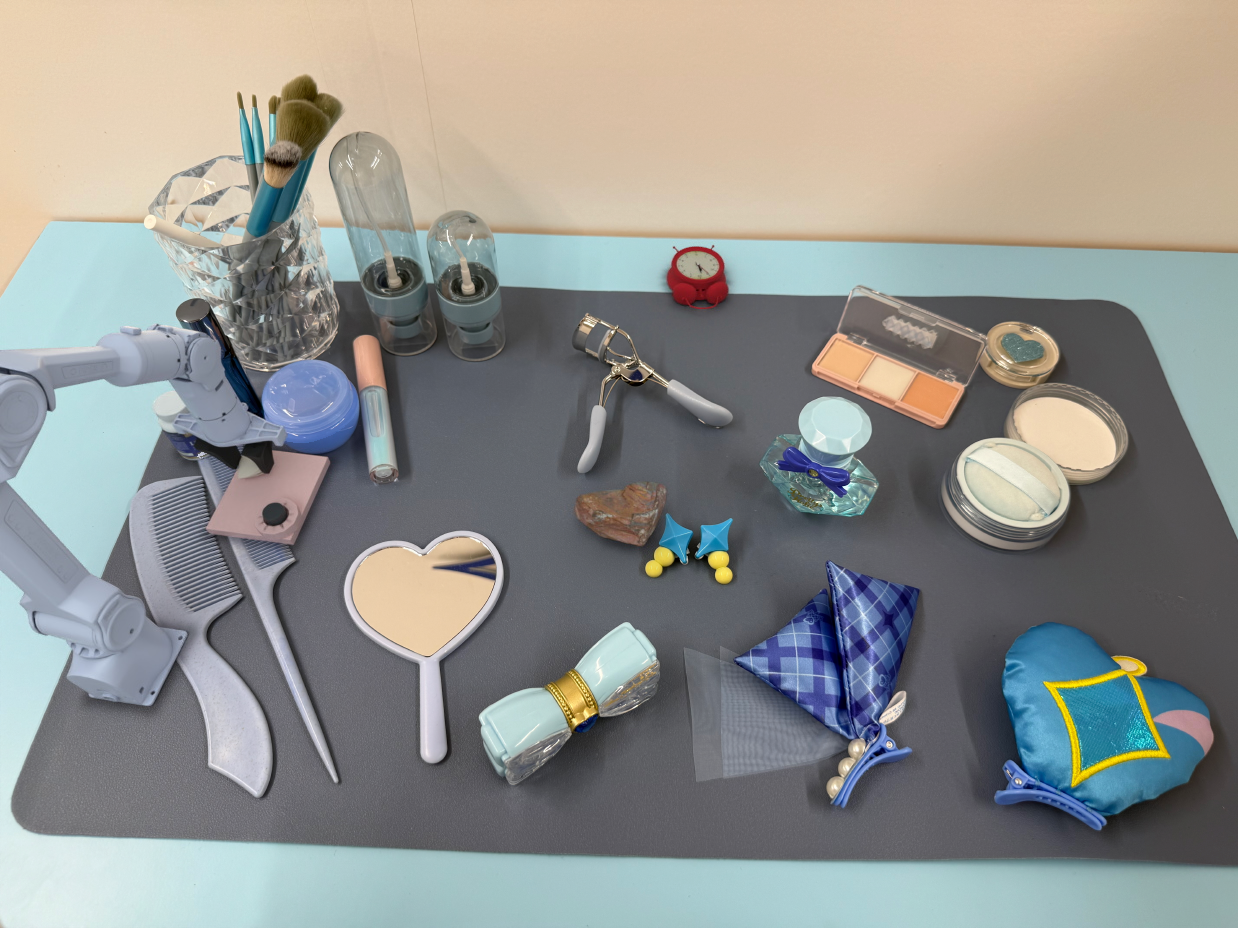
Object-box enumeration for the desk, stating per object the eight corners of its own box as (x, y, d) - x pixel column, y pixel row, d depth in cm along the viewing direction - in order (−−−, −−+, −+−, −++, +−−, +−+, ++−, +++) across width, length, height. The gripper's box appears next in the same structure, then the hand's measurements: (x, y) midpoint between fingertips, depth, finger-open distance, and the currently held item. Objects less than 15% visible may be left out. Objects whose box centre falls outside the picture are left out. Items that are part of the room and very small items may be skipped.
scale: (295, 547, 104) (287, 536, 102) (208, 536, 105) (199, 524, 103) (333, 462, 112) (327, 450, 110) (252, 452, 113) (244, 440, 111)
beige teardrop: (279, 465, 110) (273, 454, 108) (253, 489, 108) (246, 479, 106) (257, 452, 112) (251, 442, 110) (231, 476, 109) (224, 466, 107)
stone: (662, 504, 109) (666, 463, 101) (674, 556, 104) (679, 517, 96) (573, 515, 108) (571, 475, 100) (581, 569, 103) (579, 530, 95)
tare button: (282, 527, 103) (278, 521, 102) (262, 524, 103) (258, 518, 102) (290, 509, 105) (286, 503, 103) (271, 507, 105) (267, 500, 104)
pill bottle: (208, 464, 112) (177, 421, 104) (172, 458, 113) (139, 415, 105) (228, 434, 115) (199, 390, 107) (193, 428, 116) (162, 384, 108)
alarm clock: (722, 240, 138) (737, 280, 126) (719, 272, 142) (734, 314, 130) (664, 242, 137) (674, 283, 126) (663, 274, 141) (673, 316, 130)
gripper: (280, 386, 99) (313, 449, 110) (174, 373, 100) (217, 437, 111) (258, 428, 95) (294, 490, 106) (147, 415, 96) (194, 477, 107)
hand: (253, 466), depth 109 cm, fingers closed on beige teardrop, 4 cm apart
